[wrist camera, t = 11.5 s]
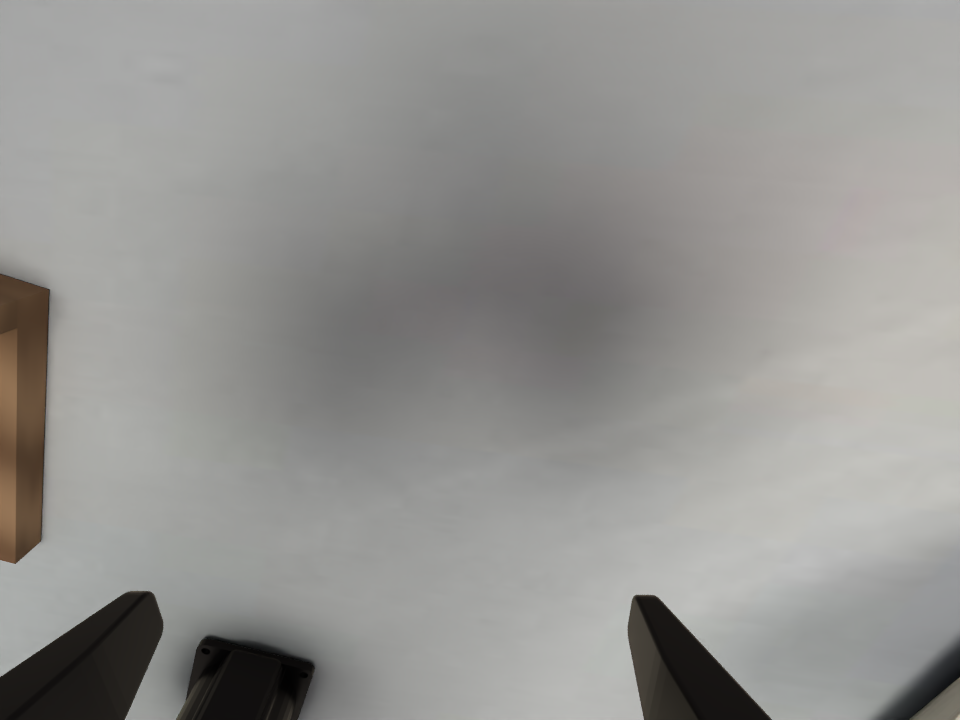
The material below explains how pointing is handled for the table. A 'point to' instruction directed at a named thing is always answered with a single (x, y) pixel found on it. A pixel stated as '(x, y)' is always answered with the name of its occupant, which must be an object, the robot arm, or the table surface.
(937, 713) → the salad plate
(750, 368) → the table surface
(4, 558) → the shelf board
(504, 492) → the table surface
